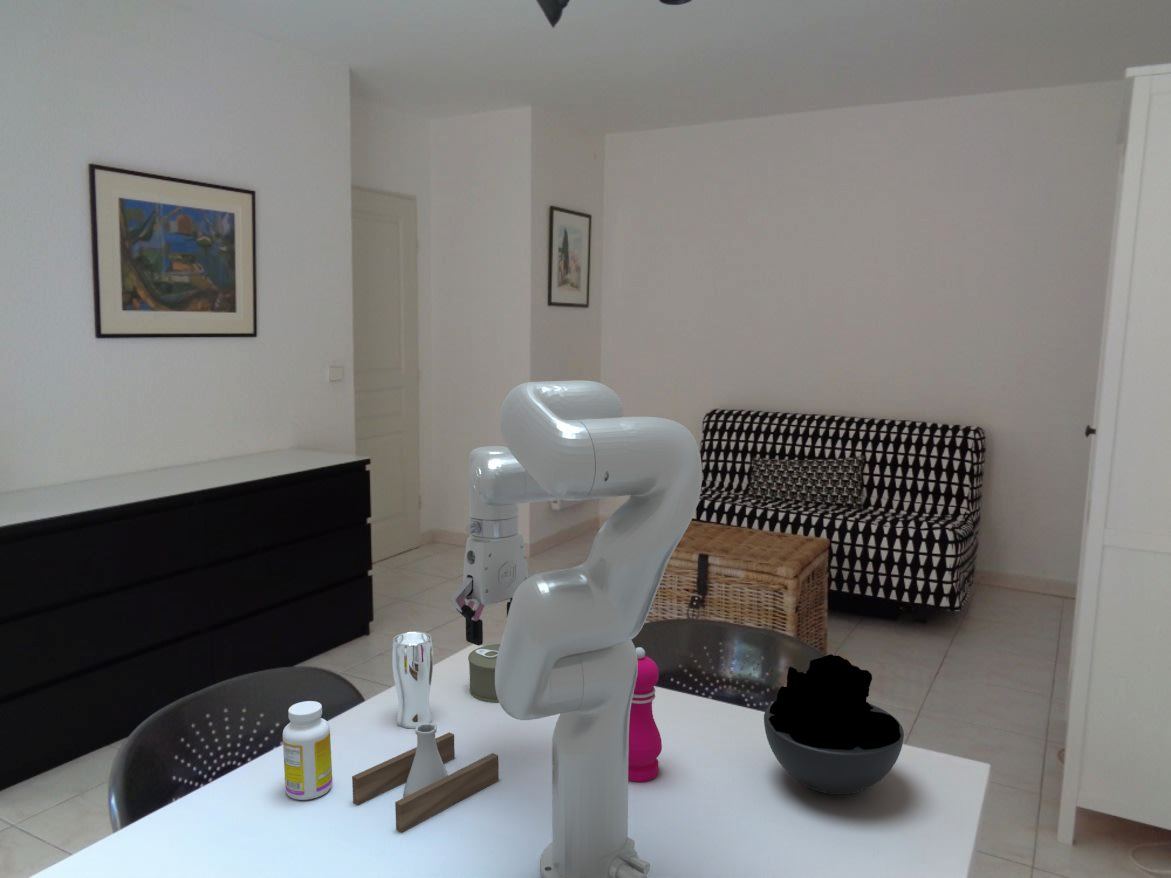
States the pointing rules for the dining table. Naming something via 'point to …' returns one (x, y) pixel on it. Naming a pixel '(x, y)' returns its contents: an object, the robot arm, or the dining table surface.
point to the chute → (431, 796)
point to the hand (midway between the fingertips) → (495, 634)
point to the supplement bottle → (307, 752)
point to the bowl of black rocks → (832, 728)
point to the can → (483, 673)
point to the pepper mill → (643, 723)
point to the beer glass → (413, 677)
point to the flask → (425, 760)
